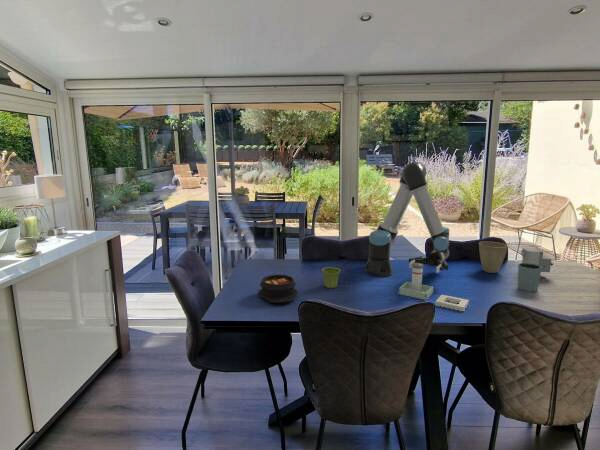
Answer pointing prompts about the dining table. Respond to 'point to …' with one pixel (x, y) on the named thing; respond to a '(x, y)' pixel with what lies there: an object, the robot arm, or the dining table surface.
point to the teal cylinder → (528, 276)
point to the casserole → (278, 288)
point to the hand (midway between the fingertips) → (423, 267)
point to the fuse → (417, 276)
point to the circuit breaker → (536, 258)
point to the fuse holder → (461, 306)
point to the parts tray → (407, 291)
